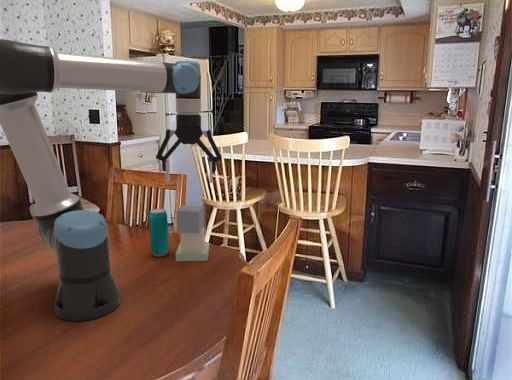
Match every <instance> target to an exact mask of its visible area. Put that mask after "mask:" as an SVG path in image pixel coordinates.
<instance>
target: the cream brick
mask: <svg viewBox="0 0 512 380" xmlns="http://www.w3.org/2000/svg"><path fill="white" fill-rule="evenodd" d="M179 234H180V243H181V252H203V250H204V245H205V243H206V241H205V238H206V237H205V226H204V227H203V229H202V230H201V232H200V233H179Z"/></svg>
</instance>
